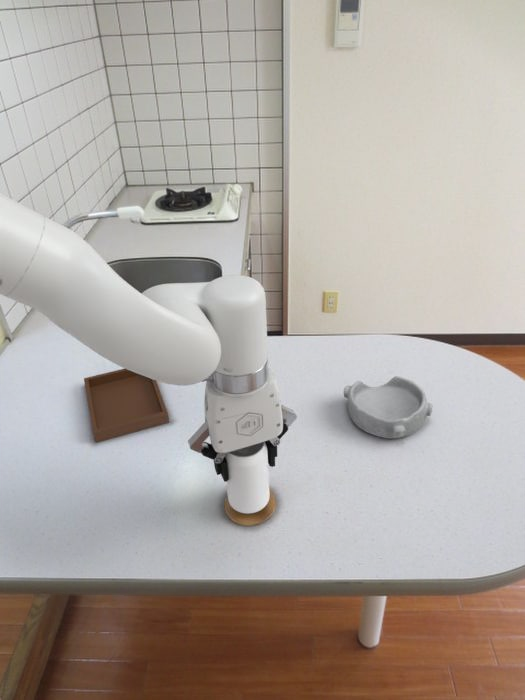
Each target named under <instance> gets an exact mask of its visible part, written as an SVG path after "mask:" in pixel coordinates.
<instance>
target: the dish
mask: <svg viewBox="0 0 525 700" xmlns="http://www.w3.org/2000/svg"><path fill="white" fill-rule="evenodd" d="M343 397H344V398H346V399H347V408H348V414H349V417H350V419H351V421H352V422H353V423H354V424H355V425H356V426H357V427H358V428H359V429H361V430H362V431H364V432H366V433H368V434H370V435H373V436H377V437H379V438H385V439H400V438H401V439H402V438H405V437H408V436H409V435H412V434H414V433H415V432H417V431H418V430H420V429H421V428H422V426H423V425H424V423H425V421H426V418H427V417H431V415H432V413H433V403H431V402H428V401H427V395H426V393H425V391H424V390H423V389H422V388H421V387H420V385H418V384H417V383H415V382H414V381H412V380H410V379H408V378H404V377H402V376H399V375H394V377H392V378H391V379H390V380H388V381H387V382H386V383H384V384H382V385H379V386H369V385H367V384H365V383H363V381H361V380H358V381H355V382H354V383H353V384H352V385H346V386H344V388H343Z"/></svg>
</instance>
